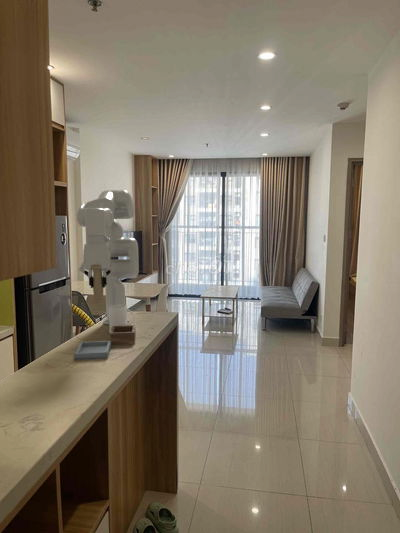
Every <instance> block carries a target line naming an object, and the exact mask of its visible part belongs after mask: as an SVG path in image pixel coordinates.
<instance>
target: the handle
mask: <svg viewBox="0 0 400 533" xmlns="http://www.w3.org/2000/svg"><path fill="white" fill-rule="evenodd" d="M91 269H92V270H93V271H92V276H93V288H92V290H93V291H92V293H93V298H94V303H95V304H101V303H104V288H103V285H102V277H103V272H102V270H100V269H101V265H91Z"/></svg>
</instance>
